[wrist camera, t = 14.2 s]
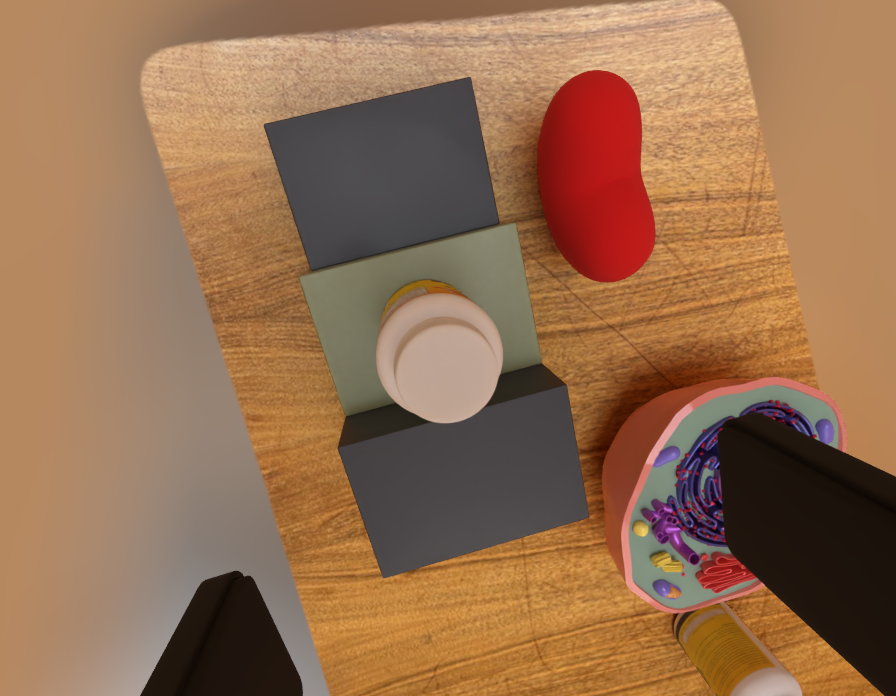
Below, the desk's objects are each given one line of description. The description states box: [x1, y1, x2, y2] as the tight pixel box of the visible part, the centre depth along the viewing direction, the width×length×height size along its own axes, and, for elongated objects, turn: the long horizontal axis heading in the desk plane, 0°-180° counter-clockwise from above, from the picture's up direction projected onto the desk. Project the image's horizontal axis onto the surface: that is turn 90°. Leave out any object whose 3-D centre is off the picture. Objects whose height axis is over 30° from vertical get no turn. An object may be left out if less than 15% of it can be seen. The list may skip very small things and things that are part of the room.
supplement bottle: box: [376, 279, 503, 423], centre depth 21 cm, size 6×6×10 cm
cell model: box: [602, 377, 847, 613], centre depth 33 cm, size 17×20×11 cm
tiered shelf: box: [264, 77, 589, 578], centre depth 27 cm, size 13×27×11 cm, turn 14°
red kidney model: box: [537, 70, 655, 282], centre depth 27 cm, size 12×5×10 cm, turn 15°
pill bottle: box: [674, 602, 802, 696], centre depth 39 cm, size 6×6×12 cm
